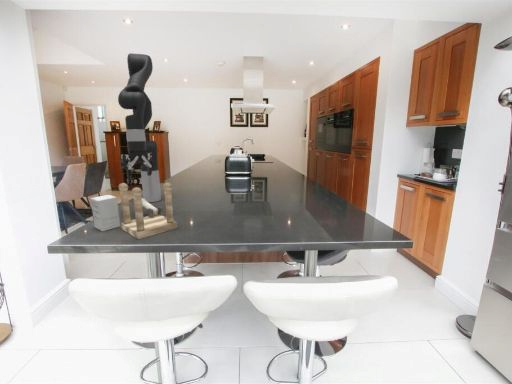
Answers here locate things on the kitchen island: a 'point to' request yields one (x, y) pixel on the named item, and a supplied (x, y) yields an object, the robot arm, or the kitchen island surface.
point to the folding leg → (149, 206)
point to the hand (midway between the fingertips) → (140, 176)
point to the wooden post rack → (152, 222)
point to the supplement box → (105, 212)
